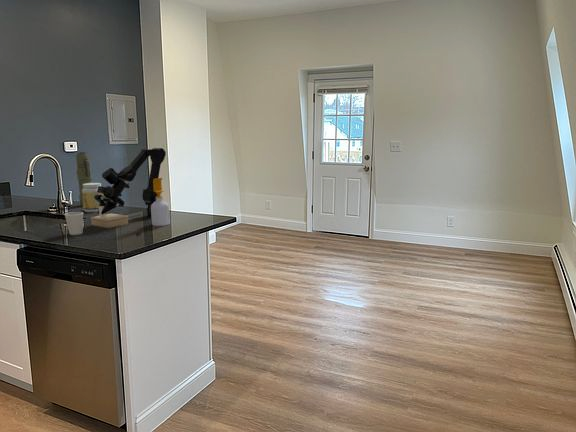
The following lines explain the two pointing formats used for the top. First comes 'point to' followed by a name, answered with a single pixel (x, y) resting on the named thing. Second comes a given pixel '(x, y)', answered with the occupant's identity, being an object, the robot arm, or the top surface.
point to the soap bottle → (159, 206)
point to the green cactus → (83, 172)
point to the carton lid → (107, 216)
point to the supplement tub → (90, 197)
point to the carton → (110, 223)
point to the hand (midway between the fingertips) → (99, 213)
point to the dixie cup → (74, 222)
